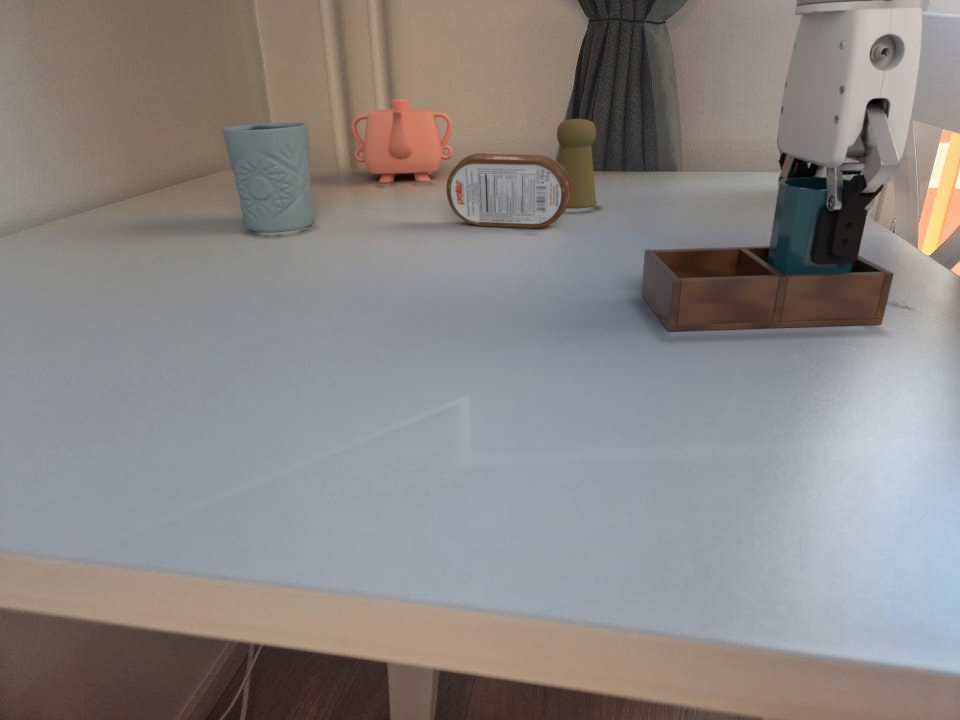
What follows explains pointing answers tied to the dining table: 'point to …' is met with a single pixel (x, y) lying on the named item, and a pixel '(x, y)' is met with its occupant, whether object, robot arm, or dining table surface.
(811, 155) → the robot arm
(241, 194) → the drinking glass
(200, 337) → the dining table surface
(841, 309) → the divided wooden box
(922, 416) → the dining table surface
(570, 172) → the pepper mill
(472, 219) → the tin
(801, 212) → the cup
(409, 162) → the teapot
